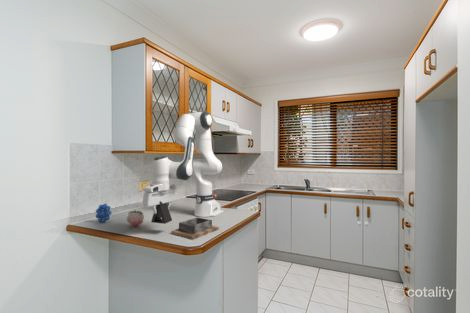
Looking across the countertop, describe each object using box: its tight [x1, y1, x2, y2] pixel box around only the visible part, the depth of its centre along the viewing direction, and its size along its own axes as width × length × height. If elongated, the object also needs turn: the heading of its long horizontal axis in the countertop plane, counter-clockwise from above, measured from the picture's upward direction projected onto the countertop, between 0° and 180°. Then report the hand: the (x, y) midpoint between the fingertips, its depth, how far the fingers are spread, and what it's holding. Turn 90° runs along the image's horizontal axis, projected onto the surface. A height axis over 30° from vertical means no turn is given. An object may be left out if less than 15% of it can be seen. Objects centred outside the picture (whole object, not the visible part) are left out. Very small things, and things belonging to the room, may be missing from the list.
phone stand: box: [150, 201, 173, 224], centre depth 132 cm, size 9×6×12 cm, turn 71°
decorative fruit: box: [126, 209, 145, 228], centre depth 143 cm, size 9×8×10 cm
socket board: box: [171, 216, 220, 241], centre depth 133 cm, size 20×16×6 cm
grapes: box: [95, 203, 112, 223], centre depth 152 cm, size 12×7×12 cm, turn 73°
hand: (161, 211), depth 132 cm, fingers closed on phone stand, 6 cm apart
